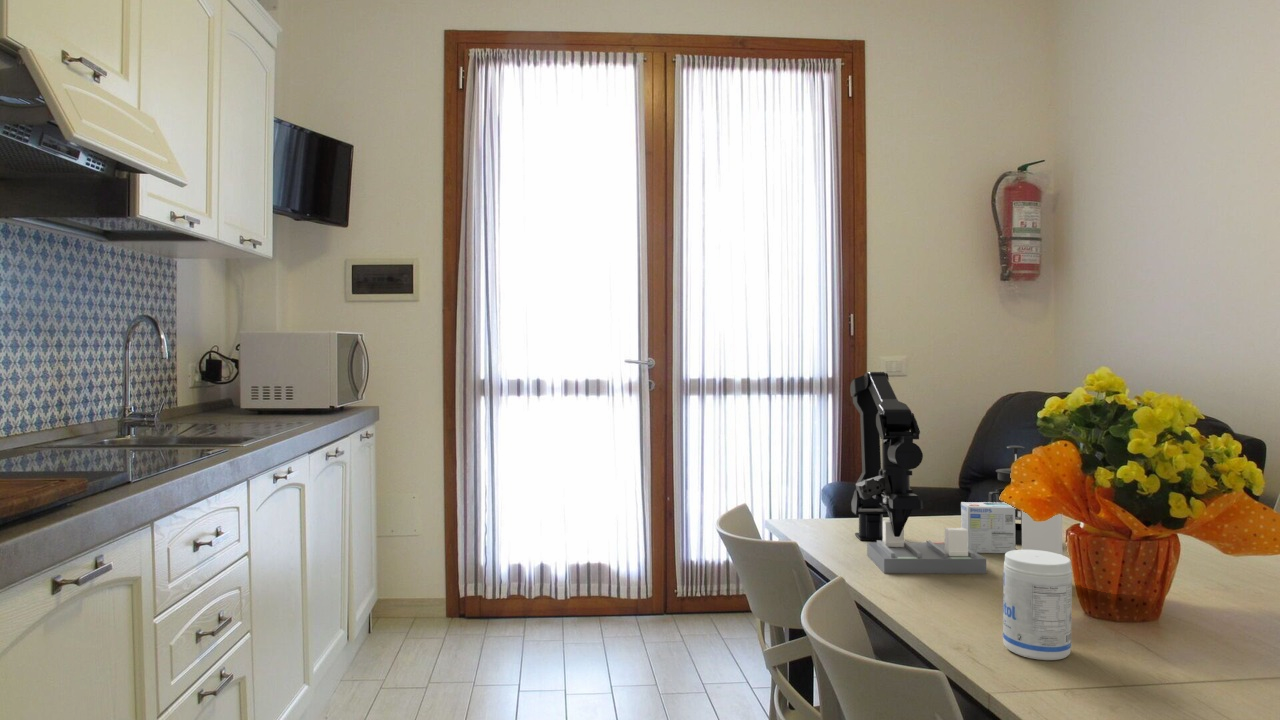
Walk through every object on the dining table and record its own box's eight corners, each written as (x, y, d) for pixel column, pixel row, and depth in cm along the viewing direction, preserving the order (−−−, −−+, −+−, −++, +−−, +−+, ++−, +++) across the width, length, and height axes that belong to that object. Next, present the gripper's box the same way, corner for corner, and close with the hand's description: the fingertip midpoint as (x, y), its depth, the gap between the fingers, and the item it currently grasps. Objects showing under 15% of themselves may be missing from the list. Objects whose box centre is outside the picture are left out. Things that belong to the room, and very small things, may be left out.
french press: (1027, 535, 208) (1027, 443, 207) (1047, 544, 198) (1047, 447, 198) (981, 536, 207) (981, 444, 207) (999, 545, 198) (999, 448, 197)
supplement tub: (992, 640, 133) (992, 548, 133) (1051, 639, 134) (1051, 548, 133) (1021, 663, 124) (1021, 564, 123) (1084, 662, 124) (1084, 563, 124)
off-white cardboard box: (1061, 581, 167) (1061, 486, 166) (1062, 590, 160) (1062, 492, 160) (1022, 577, 170) (1021, 484, 169) (1021, 586, 163) (1021, 490, 163)
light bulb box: (1006, 547, 196) (1006, 501, 196) (1016, 554, 189) (1016, 506, 189) (959, 546, 197) (959, 501, 197) (968, 553, 190) (968, 506, 190)
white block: (882, 543, 187) (882, 519, 187) (900, 543, 186) (900, 519, 186) (885, 546, 184) (885, 522, 184) (904, 546, 183) (904, 522, 183)
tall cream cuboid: (944, 552, 178) (944, 527, 178) (963, 552, 178) (963, 527, 178) (948, 556, 175) (948, 530, 175) (968, 556, 175) (968, 530, 175)
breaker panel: (867, 555, 188) (867, 538, 188) (961, 555, 188) (961, 538, 188) (884, 573, 173) (884, 555, 173) (986, 573, 173) (986, 555, 173)
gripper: (849, 461, 192) (850, 529, 192) (868, 469, 173) (869, 544, 173) (898, 461, 192) (899, 529, 191) (922, 469, 173) (924, 544, 173)
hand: (896, 536), depth 182 cm, fingers closed
